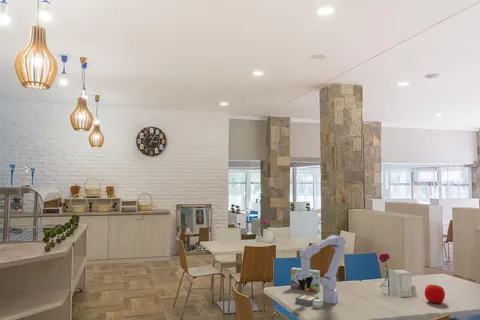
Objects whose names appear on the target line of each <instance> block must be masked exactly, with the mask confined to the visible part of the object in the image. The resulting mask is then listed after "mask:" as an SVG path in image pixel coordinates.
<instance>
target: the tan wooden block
mask: <svg viewBox="0 0 480 320" xmlns="http://www.w3.org/2000/svg"><path fill="white" fill-rule="evenodd" d="M306 295H307V294H305V295H304V296H301V295H300V296H301V297H299V298H301V299H306V300H312V299H314V298H316V297H317V296H316V297H311V296H312V295H311V296H306Z"/></svg>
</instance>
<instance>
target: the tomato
mask: <svg viewBox="0 0 480 320" xmlns="http://www.w3.org/2000/svg"><path fill="white" fill-rule="evenodd" d="M445 296H446V292H445V289H444V288H443V287H442V286H441V285H438V284H437V285H436V284H428V285H427V286H425V288H424V298H425V299H426V300H427V301H428V302H430V303H434V304H441V303H443V302H444V300H445Z"/></svg>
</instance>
